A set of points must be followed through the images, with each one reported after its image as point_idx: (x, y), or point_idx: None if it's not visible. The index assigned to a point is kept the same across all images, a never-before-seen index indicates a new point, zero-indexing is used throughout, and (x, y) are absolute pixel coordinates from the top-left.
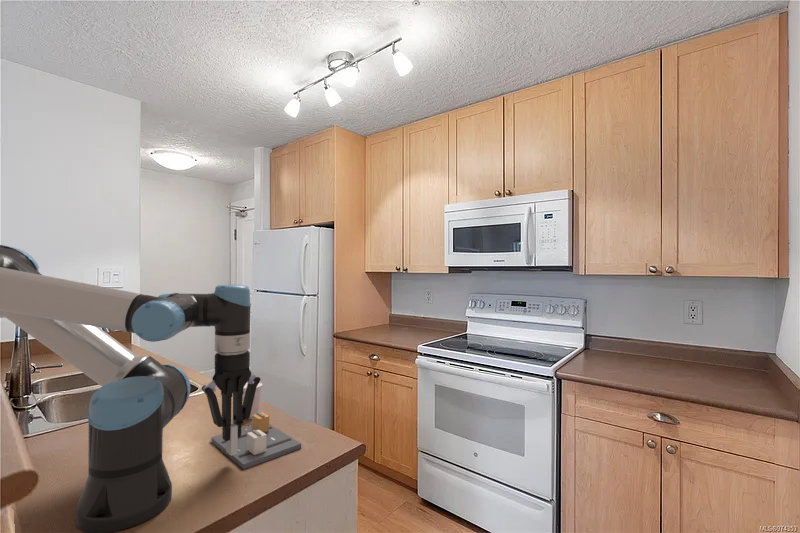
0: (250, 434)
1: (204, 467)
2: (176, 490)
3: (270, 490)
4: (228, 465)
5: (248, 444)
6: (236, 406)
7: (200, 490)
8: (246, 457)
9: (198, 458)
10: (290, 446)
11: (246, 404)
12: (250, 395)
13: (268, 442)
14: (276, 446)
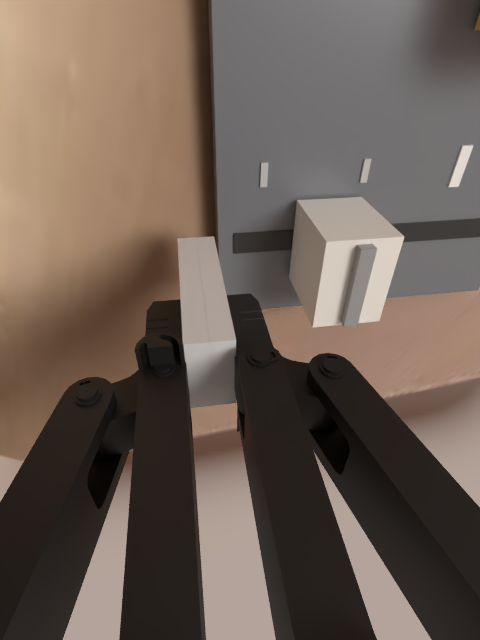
0: (327, 273)
1: (72, 174)
2: None
3: (227, 426)
4: (181, 230)
5: (304, 233)
6: (259, 536)
7: (40, 340)
8: (256, 269)
9: (47, 15)
10: (435, 287)
11: (361, 507)
12: (429, 618)
13: (417, 188)
14: (405, 253)
